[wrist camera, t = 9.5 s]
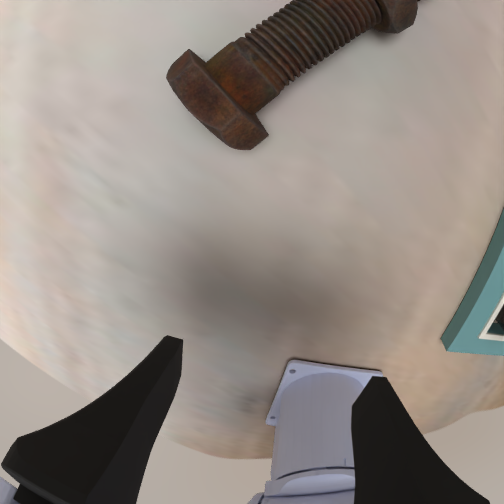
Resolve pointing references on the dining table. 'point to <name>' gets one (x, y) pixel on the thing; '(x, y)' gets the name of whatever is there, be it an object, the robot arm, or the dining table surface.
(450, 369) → the dining table surface
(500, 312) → the pin
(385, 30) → the bolt
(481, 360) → the dining table surface
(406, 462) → the robot arm
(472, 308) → the pin board
